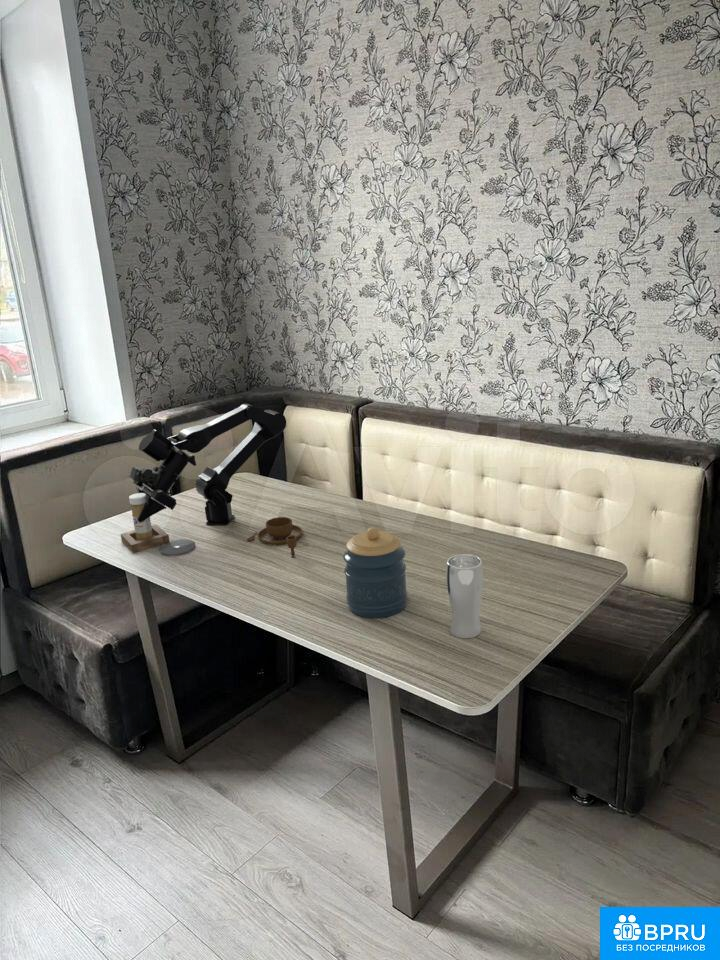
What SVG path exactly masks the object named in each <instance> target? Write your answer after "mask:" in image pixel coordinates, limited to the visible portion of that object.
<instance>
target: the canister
mask: <svg viewBox="0 0 720 960" xmlns="http://www.w3.org/2000/svg"><path fill="white" fill-rule="evenodd" d="M401 543H402V542H401V540H400V538H399V537H398V536H396V535H394V534H392V533H391V532H388V531H385V530H379V529H378V528H376V527H374V526H372V527H369V528H368V529H367V531H363V532H359V533H357V534H356V535H354V536H353V537H352V538H350V539H349V540H348V541H347V542H346V549H345V550H344V552H343V554H342V558H343V560H344V562H345V563H346V565H345V567H344V575H345V582H346V584H345V585H346V603H347V605H348V608H349V610H350V611H351V612H352V613H353V614H355V615H357V616H359V617H362V618H363V617H364V618H371V619H379V618H386V617H390V616H393V615H396V614H397V613H399V612H401V611H402V610H403V609H405V608H406V605H407V600H408V590H407V579H406V578H407V577H406V575H407V574H406V569H407V565H406V563H405V561H404V558H405V556H406V550H405V549H404V547H402V546H401Z"/></svg>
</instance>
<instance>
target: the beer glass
mask: <svg viewBox="0 0 720 960" xmlns="http://www.w3.org/2000/svg"><path fill="white" fill-rule="evenodd" d="M482 562H483V561H482V559H481V558H480V557H479V556H476V555H475V554H468V553H461V554H455V555H452V556H450V557H449V558H448V559H447V561H446V573H445V574H446V575H445V576H446V578H445V579H446V590H447V595H448V600H449V605H450V610H451V622H450V627H449V630H450V633H451V634H452V636H454V637H457V638H460V639H473V638H475V637H478V636H480V635H481V633H482V625H481V621H480V619H481V618H480V607H481V603H482V599H483V598H482V597H483V591H484V590H483V589H484V573H483V564H482Z"/></svg>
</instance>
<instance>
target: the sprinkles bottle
mask: <svg viewBox="0 0 720 960" xmlns="http://www.w3.org/2000/svg"><path fill="white" fill-rule="evenodd" d="M128 500H129V504H130V506H131V513H132V514H133V516H132V521H133V527H134V530H135V533H136V538H137V540H136V541H139V540H143V539H146V538H150V537H153V536H154V535H152V527H151V526H152V522H151V516H150V517H149V518H147V519H145V520H144V521H142V522H139V521H138V517H139V515H140V513H141V511H142V510H143V508H144V506H145V504H146V494H145V493H138V492H137V493H133V494H131V495H129V497H128Z"/></svg>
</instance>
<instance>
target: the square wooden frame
mask: <svg viewBox="0 0 720 960" xmlns="http://www.w3.org/2000/svg"><path fill="white" fill-rule="evenodd" d="M151 527H152V535H153V537H150V538H146V539H143V540H139V541H137V538H136V533H135V529H133V530H131V531H127V532H123V533H120V539H121V542H122V543H123V544H124V545H125V546H126V547H127V548H128V549H129V550H130V552H131V553H132V554H133V553H137V552H140V551H145V550H148V549H152V548H156V547H159V546H162V545H164V544H165V543H168V542H170V536H169V534H168V533H167V532H166V531H165V530H164V529H162V528H161V527H160V526H159V525H158V524H153V525H152V524H151Z"/></svg>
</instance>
